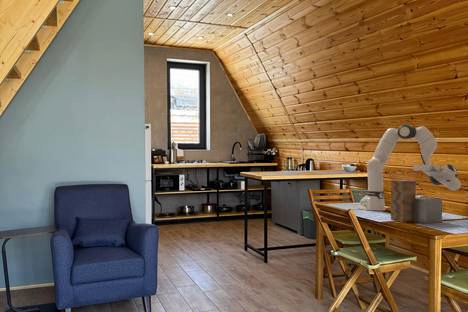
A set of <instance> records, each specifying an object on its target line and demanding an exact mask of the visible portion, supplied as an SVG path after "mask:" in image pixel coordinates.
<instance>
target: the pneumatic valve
mask: <svg viewBox="0 0 468 312" xmlns="http://www.w3.org/2000/svg"><path fill="white" fill-rule="evenodd" d="M422 197H427V196H425V195H422V194H416V198H422Z"/></svg>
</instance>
